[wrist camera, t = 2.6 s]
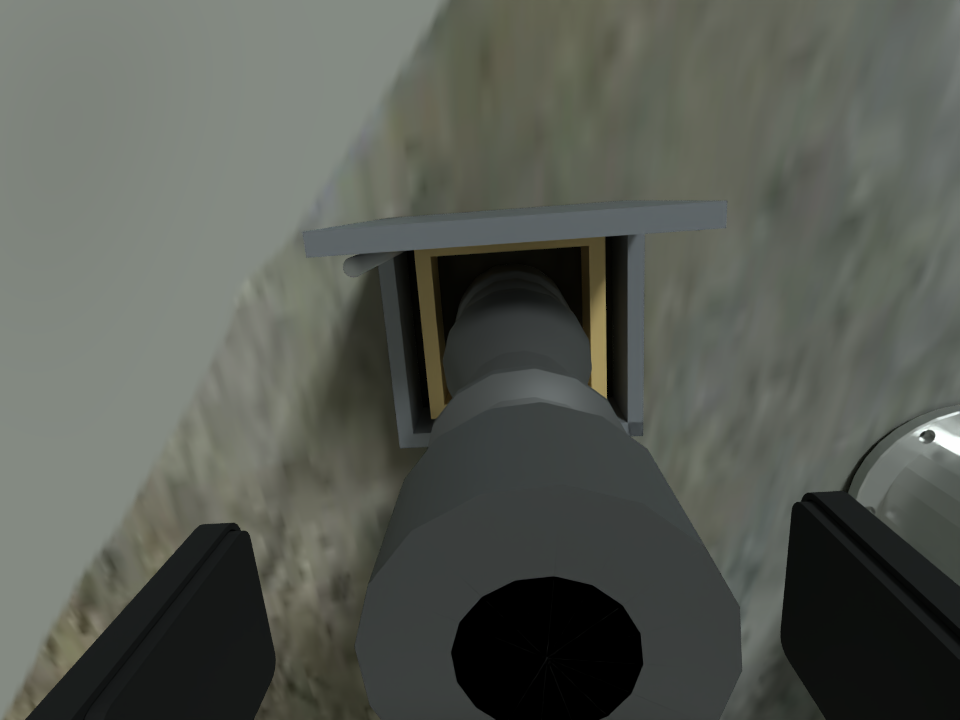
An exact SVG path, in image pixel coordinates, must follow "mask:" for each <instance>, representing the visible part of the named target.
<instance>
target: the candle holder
mask: <svg viewBox="0 0 960 720" xmlns="http://www.w3.org/2000/svg"><path fill="white" fill-rule="evenodd" d="M443 366H444V372H445V377H446V383H447V388H448V390H449V392H450V394H451V396H452V399H451V400H450V402H449V403H448V404H447V405H446V407H445V408H444V409H443V411H442V412H441V413H440V415H439V416H438V417H437V419H436V420H435V421H434V423H433V427H432V431H431V435H430V439H429V444H428V448H427V451H426V452H425V453H424V455H423V456H422V457H421V459H420V460H419V461H418V462H417V464H416V465H415V466H414V468H413V469H412V470H411V472H410V473H409V474H408V475H407V477H406V478H405V479H404V482H403V485H402V488H401V491H400V494H399V496H398V499H397V502H396V505H395V508H394V511H393V514H392V517H391V520H390V523H389V525H388V528H387V531H386V534H385V537H384V540H383V543H382V546H381V549H380V552H379V554H378V557H377V560H376V563H375V566H374V569H373V572H372V575H371V578H370V581H369V583H368V587H367V592H366V596H365V601H364V605H363V610H362V614H361V619H360V623H359V628H358V633H357V637H356V642H355V646H354V647H355V651H356V654H357V658H358V662H359V666H360V670H361V674H362V677H363V681H364V685H365V689H366V693H367V697H368V700H369V704H370V706H371V708H372V709H373V710H374V711H375V713H376V714H377V715H378V716H379V717H380V719H381V720H719V719H720V717H721V715H722V713H723V710H724V708H725V706H726V704H727V702H728V700H729V698H730V695H731V693H732V691H733V689H734V687H735V685H736V683H737V680H738V678H739V676H740V674H741V672H742V654H741V626H740V606H739V605H738V603H737V601H736V599H735V598H734V596H733V594H732V592H731V591H730V589H729V587H728V586H727V584H726V582H725V580H724V579H723V577H722V575H721V573H720V572H719V570H718V568H717V566H716V565H715V563H714V561H713V559H712V558H711V556H710V554H709V552H708V551H707V549H706V547H705V545H704V544H703V542H702V540H701V539H700V537H699V535H698V534H697V532H696V530H695V529H694V527H693V525H692V523H691V522H690V520H689V518H688V517H687V515H686V513H685V512H684V510H683V508H682V507H681V505H680V503H679V501H678V500H677V498H676V496H675V495H674V493H673V491H672V490H671V488H670V486H669V485H668V483H667V481H666V479H665V478H664V476H663V474H662V473H661V471H660V469H659V468H658V466H657V464H656V463H655V461H654V459H653V457H652V456H651V454H650V452H649V451H648V449H647V448H645V447H644V446H643V445H641V444H640V443H638V442H637V441H636V440H634V439H633V438H631V437H630V436H629V435H627V433H626V431H625V429H624V428H623V426H622V424H621V422H620V421H619V419H618V417H617V415H616V414H615V412H614V410H613V409H612V407H611V405H610V403H609V402H608V400H607V399H606V398H605V397H604V396H602V395H601V394H600V393H598V392H597V391H595V390H594V389H593V388H591V387H590V386H589V385H588V382H589V378H590V374H591V371H592V362H591V353H590V343H589V339H588V337H587V335H586V334H585V332H584V330H583V328H582V327H581V325H580V323H579V321H578V320H577V318H576V316H575V315H574V313H573V312H572V311H571V309H570V308H569V306H568V304H567V302H566V301H565V299H564V297H563V295H562V294H561V292H560V290H559V289H558V287H557V286H556V284H555V282H554V281H553V280H552V279H550V278H549V277H548V276H546V275H545V274H544V273H542V272H541V271H540V270H538V269H537V268H534V267H530V266H526V265H522V264H518V263H511V264H505V265H498V266H494V267H492V268H490V269H489V270H487V271H485V272H484V273H482V274H480V275H479V276H477V277H476V278H475V279H474V280H473V282H472V283H471V285H470V286H469V287H468V289H467V290H466V291H465V293H464V294H463V296H462V299H461V302H460V304H459V308H458V312H457V317H456V321H455V324H454V325H453V327H452V328H451V330H450V332H449V335H448V339H447V344H446V348H445V352H444V356H443Z"/></svg>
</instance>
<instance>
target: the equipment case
mask: <svg viewBox="0 0 960 720" xmlns="http://www.w3.org/2000/svg"><path fill="white" fill-rule="evenodd" d="M726 218H727V201H613V202H600V203H586V204H572V205H559V206H545V207H532V208H518V209H505V210H491V211H478V212H464V213H450V214H437V215H423V216H410V217H396V218H386V219H379V220H373V221H367V222H361V223H354V224H348V225H342V226H335V227H329V228H323V229H316V230H310V231H304V232H303V239H304V245H305V252H306V258H307V257H322V256H336V255H350V254H358V255H356V256H353V257H350V258H348V259H346V260H345V262H344V264H343V270H344V272H345V273H346V274H347V275H348V276H350V277H358V276H360V275H361V274H363V273H365V272H367V271H369V270H371V269H373V268H375V267H376V266H378V270H379V278H380V286H381V295H382V303H383V311H384V320H385V328H386V336H387V344H388V353H389V361H390V369H391V378H392V386H393V394H394V403H395V411H396V419H397V428H398V436H399V444H400V448H415V447H428V444H429V439H430V435H431V431H432V427H433V423H434V421H435V420H436V419H437V417H438V416H439V415H440V413H441V412H442V411H443V409H444V408H445V407H446V405H447V404H448V403H449V402H450V400H451V399H452V396H451V394H450V392H449V390H448V388H447V383H446V377H445V372H444V366H443V356H444V352H445V348H446V347H445V336H444V325H443V314H442V303H441V292H440V281H439V270H438V259H437V256H449V255H463V254H477V253H492V252H506V251H520V250H535V249H549V248H563V247H578V246H581V274H582V318H583V330H584V332H585V334H586V335H587V337H588V339H589V343H590V353H591V362H592V371H591V374H590V378H589V382H588V385H589V386H590V387H591V388H593V389H594V390H595V391H597V392H598V393H600V394H601V395H602V396H604V397H605V398H606V399H607V400H608V402H609V403H610V405H611V407H612V409H613V410H614V412H615V414H616V415H617V417H618V419H619V421H620V422H621V424H622V426H623V428H624V429H625V431H626V433H627V435H629V436H643V379H644V246H645V234H648V233H662V232H676V231H690V230H705V229H719V228H726ZM605 236H612V320H613V397H607V368H606V278H605ZM407 250H414V255H415V265H416V275H417V285H418V295H419V304H420V314H421V324H422V334H423V344H424V353H425V363H426V373H427V383H428V392H429V402H430V407H423V403H422V393H421V384H420V375H419V365H418V356H417V346H416V337H415V327H414V318H413V308H412V299H411V289H410V280H409V271H408V261H407V252H406V251H407Z"/></svg>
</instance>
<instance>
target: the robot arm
mask: <svg viewBox="0 0 960 720" xmlns="http://www.w3.org/2000/svg"><path fill="white" fill-rule="evenodd" d="M781 643H782V647H783V650H784V653H785V655H786V657H787V659H788V660H789V662H790V664H791V665H792V667H793V668H794V670H795V671H796V673H797V675H798V676H799V678H800V679H801V681H802V682H803V684H804V685H805V687H806V689H807V690H808V692H809V693H810V695H811V696H812V698H813V700H814V701H815V703H816V704H817V706H818V707H819V709H820V711H821V712H822V714H823V715H824V717H825V718H826V720H960V404H959V405H954V406H949V407H945V408H940V409H936V410H934V411H931V412H929V413H926V414H923V415H921V416H918V417H916V418H914V419H912V420H911V421H909V422H907V423H905V424H904V425H902V426H900V427H898V428H897V429H895V430H894V431H893V432H892V433H890V434H889V435H888V436H887V437H885V438H884V439H883V440H882V441H881V442H879V443H878V445H877V446H876V447H875V448H874V449H873V450H872V451H871V452H870V453H869V455H868V456H867V457H866V458H865V459H864V461H863V463H862V464H861V466H860V467H859V469H858V471H857V472H856V474H855V476H854V478H853V481H852V483H851V486H850V489H849V491H848V493H846V492H845V491H833V492H813V493H806V494H805V495H804V496H803V498H802V500H801V502H796V503H795V504H794V505H793V507H792V513H791V524H790V535H789V546H788V557H787V567H786V578H785V589H784V600H783V610H782V621H781ZM275 661H276V658H275V651H274V646H273V642H272V637H271V632H270V628H269V623H268V618H267V613H266V609H265V604H264V599H263V595H262V590H261V585H260V581H259V576H258V571H257V566H256V562H255V557H254V552H253V548H252V543H251V539H250V535H249V534H248V532H247V531H241V530H240V528H239V526H238V525H237V524H235V523H220V524H203V525H200V526H199V527H197V528H196V529H195V530H194V531H193V532H192V534H191V535H190V536H189V537H188V538H187V539H186V540H185V541H184V543H183V544H182V545H181V546H180V547H179V548H178V549H177V550H176V551H175V553H174V554H173V555H172V556H171V557H170V558H169V559H168V560H167V562H166V563H165V564H164V565H163V566H162V567H161V568H160V569H159V570H158V572H157V573H156V574H155V575H154V576H153V577H152V578H151V579H150V581H149V582H148V583H147V584H146V585H145V586H144V587H143V588H142V590H141V591H140V592H139V593H138V594H137V595H136V596H135V597H134V598H133V600H132V601H131V602H130V603H129V604H128V605H127V606H126V607H125V609H124V610H123V611H122V612H121V613H120V614H119V615H118V616H117V617H116V619H115V620H114V621H113V622H112V623H111V624H110V625H109V626H108V628H107V629H106V630H105V631H104V632H103V633H102V634H101V635H100V636H99V638H98V639H97V640H96V641H95V642H94V643H93V644H92V645H91V647H90V648H89V649H88V650H87V651H86V652H85V653H84V654H83V655H82V657H81V658H80V659H79V660H78V661H77V662H76V663H75V664H74V666H73V667H72V668H71V669H70V670H69V671H68V672H67V673H66V674H65V676H64V677H63V678H62V679H61V680H60V681H59V682H58V683H57V685H56V686H55V687H54V688H53V689H52V690H51V691H50V692H49V693H48V695H47V696H46V697H45V698H44V699H43V700H42V701H41V702H40V704H39V705H38V706H37V707H36V708H35V709H34V710H33V711H32V712H31V714H30V715H29V716H28V717H27V718H26V719H25V720H254V718H255V715H256V713H257V711H258V709H259V707H260V705H261V702H262V700H263V698H264V696H265V694H266V691H267V689H268V687H269V685H270V683H271V680H272V678H273V675H274V671H275Z"/></svg>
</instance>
